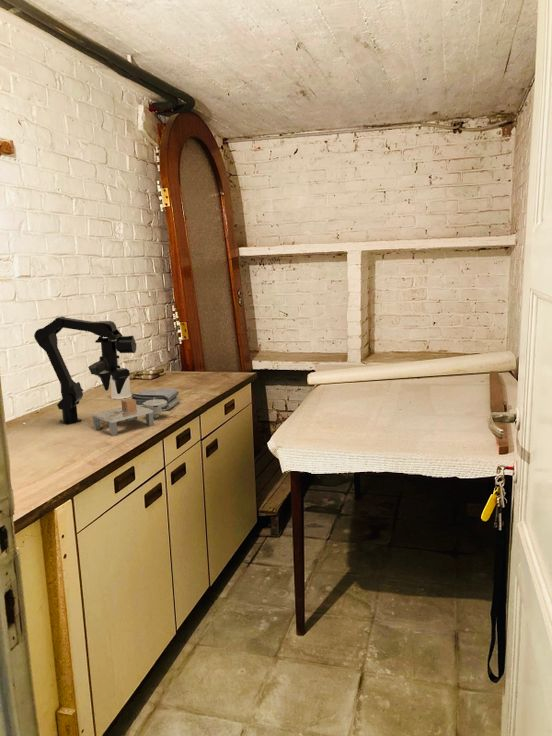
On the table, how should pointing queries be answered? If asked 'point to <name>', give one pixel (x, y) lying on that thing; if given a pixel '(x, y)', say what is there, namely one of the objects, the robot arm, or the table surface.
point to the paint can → (125, 390)
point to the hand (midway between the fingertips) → (112, 392)
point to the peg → (129, 407)
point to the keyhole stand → (121, 417)
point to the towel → (157, 397)
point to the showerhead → (155, 406)
